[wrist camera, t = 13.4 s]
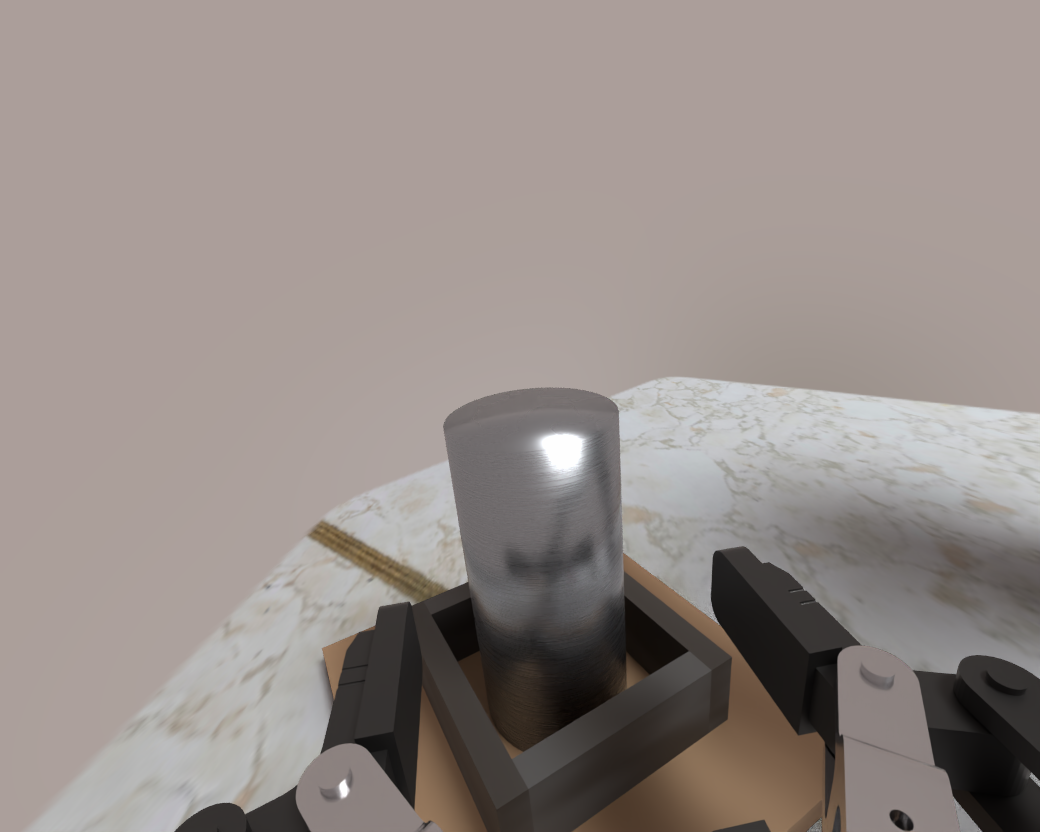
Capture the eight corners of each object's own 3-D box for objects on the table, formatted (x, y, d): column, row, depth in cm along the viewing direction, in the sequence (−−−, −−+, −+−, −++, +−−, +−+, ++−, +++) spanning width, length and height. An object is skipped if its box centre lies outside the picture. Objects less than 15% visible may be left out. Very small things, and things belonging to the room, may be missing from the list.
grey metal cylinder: (574, 620, 24) (556, 378, 20) (658, 708, 19) (657, 416, 15) (466, 675, 22) (419, 413, 17) (531, 791, 17) (489, 470, 13)
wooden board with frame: (596, 545, 31) (593, 488, 29) (875, 766, 17) (894, 679, 16) (326, 664, 24) (306, 597, 23) (445, 1172, 11) (413, 1083, 9)
